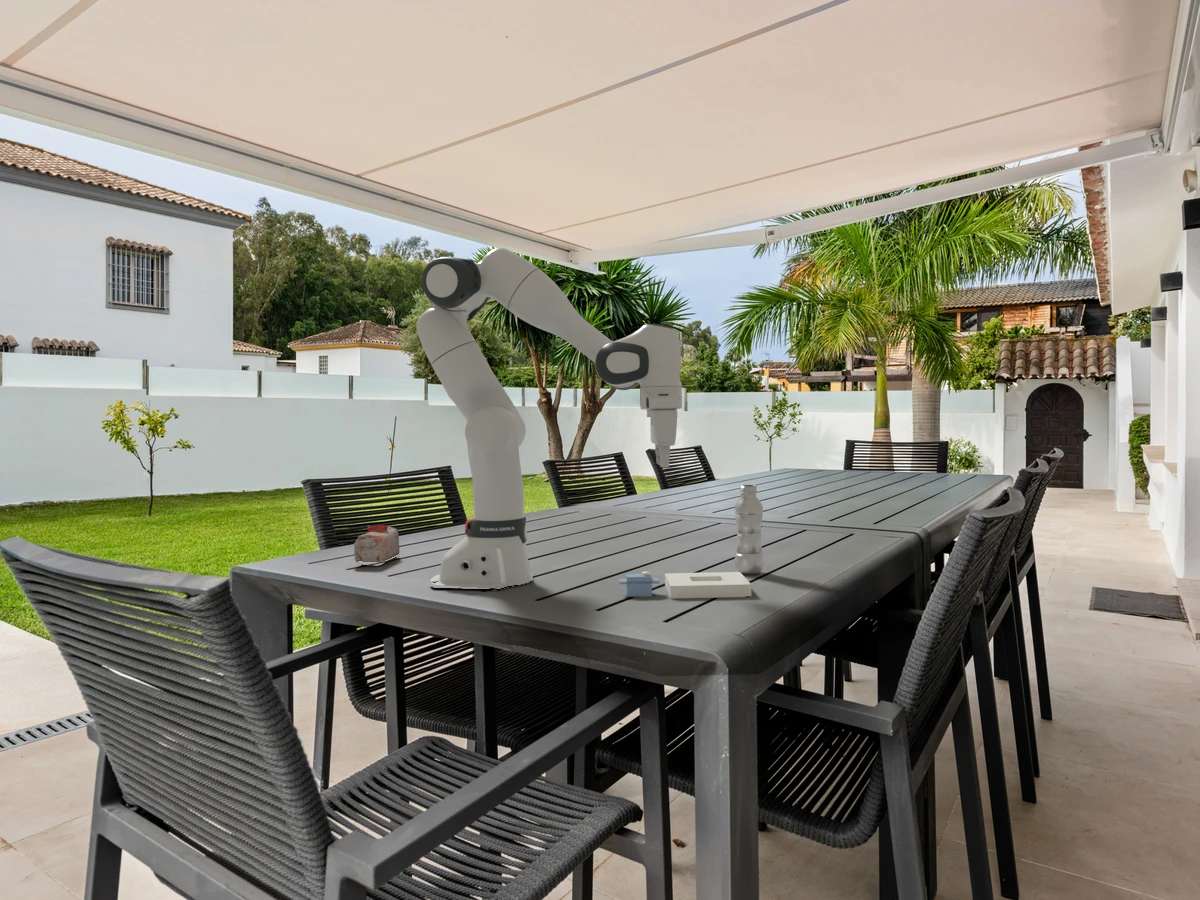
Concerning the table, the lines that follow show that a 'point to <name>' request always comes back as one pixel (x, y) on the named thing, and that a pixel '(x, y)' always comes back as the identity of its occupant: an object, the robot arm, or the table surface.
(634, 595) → the servo
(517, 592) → the table surface
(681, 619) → the table surface
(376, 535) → the food item
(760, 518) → the plastic bottle
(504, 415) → the robot arm
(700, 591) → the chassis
